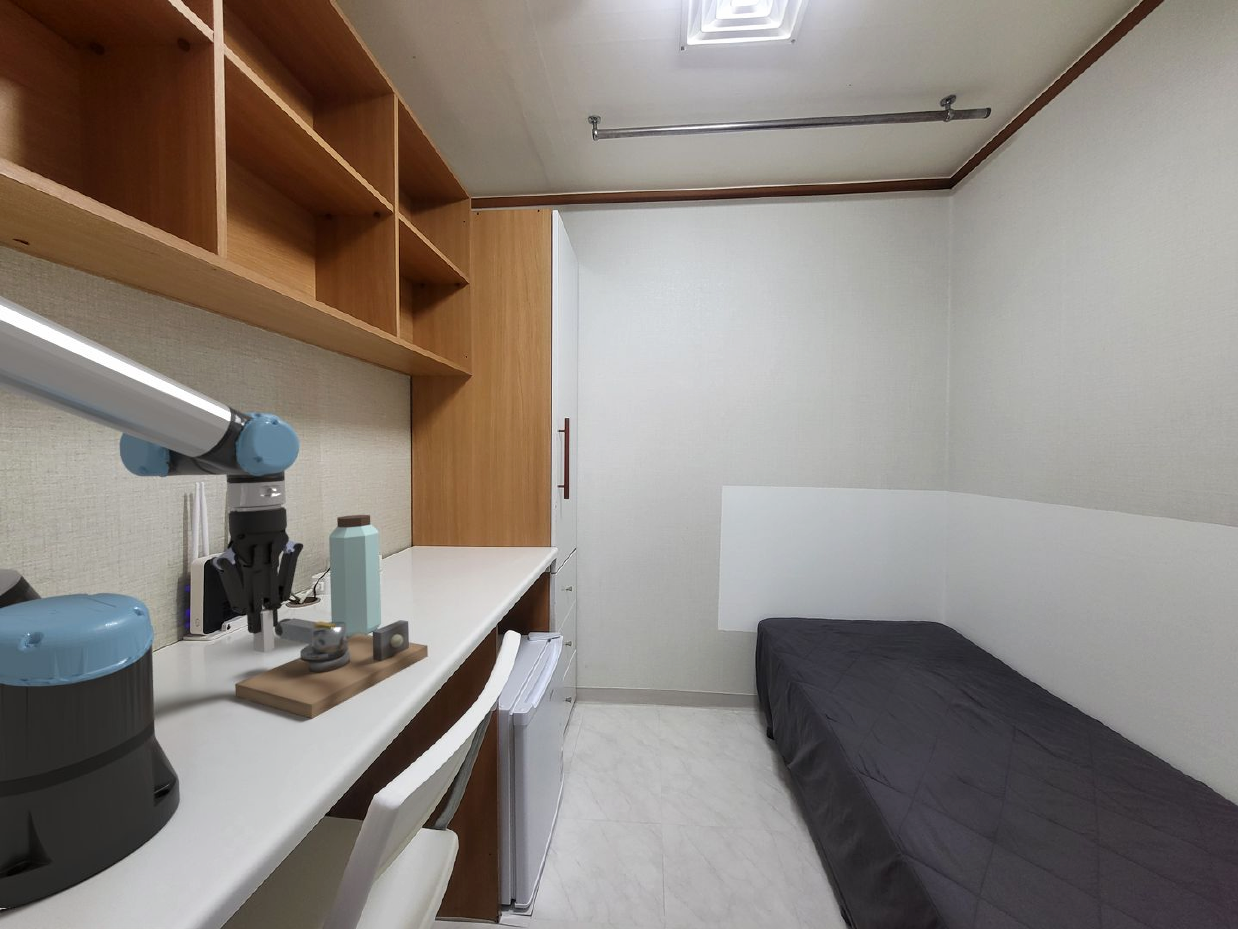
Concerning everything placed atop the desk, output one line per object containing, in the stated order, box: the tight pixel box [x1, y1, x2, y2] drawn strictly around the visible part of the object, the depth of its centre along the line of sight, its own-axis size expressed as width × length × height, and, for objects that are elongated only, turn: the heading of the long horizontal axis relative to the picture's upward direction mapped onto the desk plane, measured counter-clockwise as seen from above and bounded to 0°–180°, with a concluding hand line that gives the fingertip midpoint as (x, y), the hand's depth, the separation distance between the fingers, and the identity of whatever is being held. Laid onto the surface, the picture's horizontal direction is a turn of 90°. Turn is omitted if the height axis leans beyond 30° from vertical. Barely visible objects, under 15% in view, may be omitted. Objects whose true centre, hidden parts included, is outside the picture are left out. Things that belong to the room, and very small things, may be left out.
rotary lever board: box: [234, 619, 429, 719], centre depth 80 cm, size 22×18×7 cm
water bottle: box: [328, 514, 382, 639], centre depth 100 cm, size 10×10×25 cm
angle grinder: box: [274, 618, 348, 662], centre depth 81 cm, size 16×7×5 cm, turn 68°
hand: (264, 649), depth 76 cm, fingers closed
